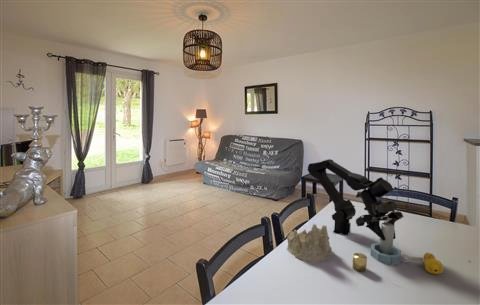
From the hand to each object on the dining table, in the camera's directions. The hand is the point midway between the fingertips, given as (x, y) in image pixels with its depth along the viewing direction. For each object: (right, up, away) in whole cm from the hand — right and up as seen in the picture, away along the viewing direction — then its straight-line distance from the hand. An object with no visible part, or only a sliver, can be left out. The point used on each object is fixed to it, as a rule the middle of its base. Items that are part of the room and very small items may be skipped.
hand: (389, 239), depth 99 cm
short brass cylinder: (-14, -9, -5) cm, 18 cm away
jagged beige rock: (-29, -8, +7) cm, 31 cm away
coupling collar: (0, -8, +3) cm, 8 cm away
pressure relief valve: (+9, -9, -5) cm, 14 cm away
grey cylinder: (0, -6, +2) cm, 7 cm away
